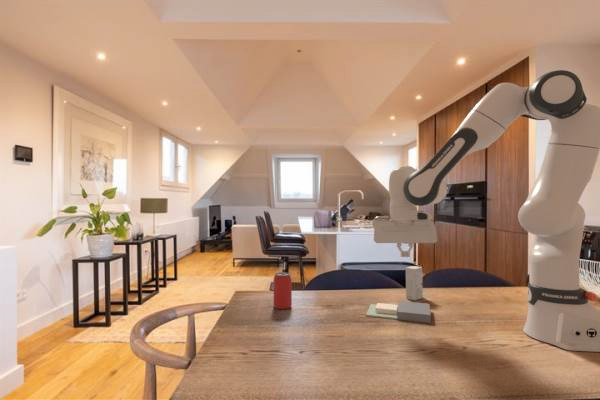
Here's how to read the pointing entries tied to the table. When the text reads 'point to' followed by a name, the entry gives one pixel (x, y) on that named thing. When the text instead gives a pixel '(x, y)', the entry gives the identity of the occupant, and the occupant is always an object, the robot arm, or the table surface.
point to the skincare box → (414, 283)
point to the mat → (372, 313)
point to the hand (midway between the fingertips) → (405, 256)
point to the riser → (414, 312)
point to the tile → (386, 308)
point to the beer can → (282, 290)
